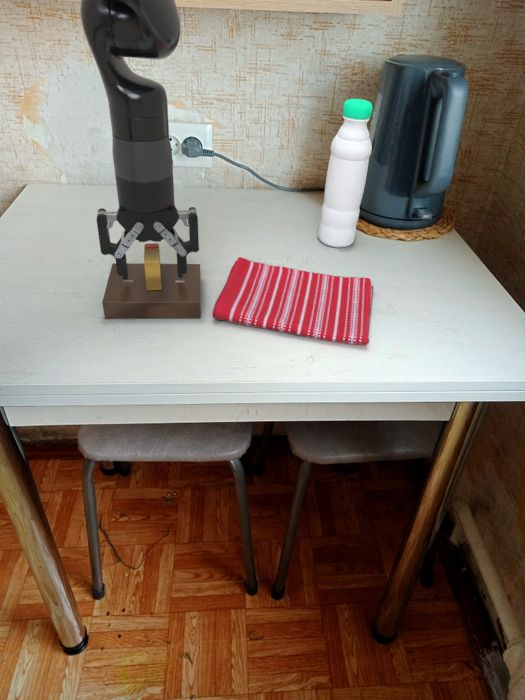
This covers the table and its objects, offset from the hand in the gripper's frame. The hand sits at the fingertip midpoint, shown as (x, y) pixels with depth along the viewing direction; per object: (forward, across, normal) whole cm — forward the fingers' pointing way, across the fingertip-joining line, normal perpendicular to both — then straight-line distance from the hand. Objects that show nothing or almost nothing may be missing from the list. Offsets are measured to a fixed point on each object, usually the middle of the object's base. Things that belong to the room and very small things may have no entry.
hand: (153, 275), depth 77 cm
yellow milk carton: (+1, 0, 0) cm, 1 cm away
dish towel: (+4, +22, -4) cm, 23 cm away
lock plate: (+4, 0, 0) cm, 4 cm away
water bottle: (+4, +35, +17) cm, 39 cm away
